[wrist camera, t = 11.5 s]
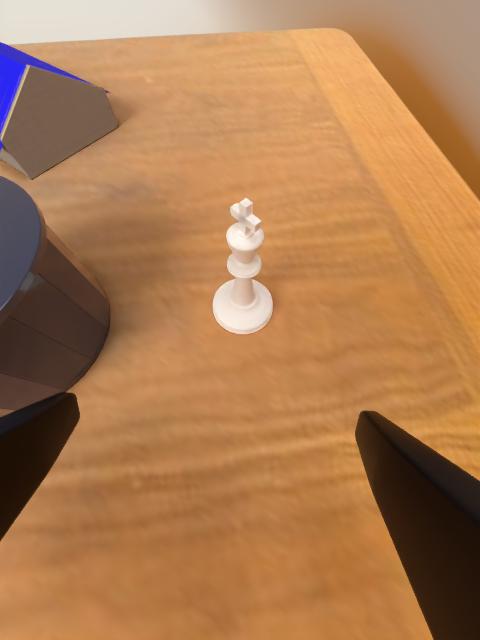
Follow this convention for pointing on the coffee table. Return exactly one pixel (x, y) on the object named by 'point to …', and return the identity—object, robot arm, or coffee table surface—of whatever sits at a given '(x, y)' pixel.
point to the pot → (52, 330)
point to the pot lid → (18, 244)
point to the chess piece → (243, 277)
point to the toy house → (46, 113)
